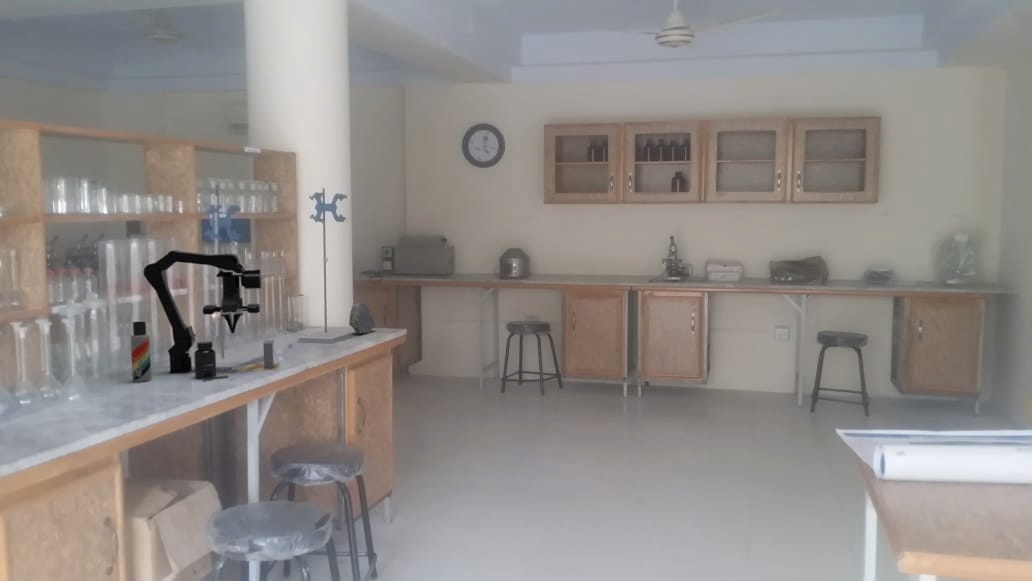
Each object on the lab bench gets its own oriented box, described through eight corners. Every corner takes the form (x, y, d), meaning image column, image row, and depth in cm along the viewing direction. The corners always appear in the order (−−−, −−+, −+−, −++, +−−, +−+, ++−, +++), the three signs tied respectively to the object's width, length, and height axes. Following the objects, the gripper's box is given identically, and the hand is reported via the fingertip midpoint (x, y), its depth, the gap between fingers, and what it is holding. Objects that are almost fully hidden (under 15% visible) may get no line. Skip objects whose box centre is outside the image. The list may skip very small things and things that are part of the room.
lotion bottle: (131, 382, 271) (128, 322, 269) (134, 379, 276) (131, 320, 274) (149, 381, 272) (146, 321, 270) (152, 378, 278) (149, 319, 276)
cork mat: (229, 372, 287) (229, 371, 287) (233, 366, 298) (233, 364, 298) (276, 370, 290) (276, 369, 290) (279, 364, 302) (279, 363, 302)
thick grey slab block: (264, 368, 292) (263, 343, 291) (266, 364, 298) (265, 340, 297) (273, 368, 292) (272, 343, 291) (275, 364, 299) (274, 340, 298)
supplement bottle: (209, 379, 275) (207, 344, 274) (190, 378, 277) (189, 343, 276) (220, 375, 282) (219, 340, 281) (202, 374, 283) (201, 340, 282)
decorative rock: (358, 336, 366) (357, 302, 364) (346, 335, 369) (345, 302, 367) (378, 331, 381) (377, 298, 379) (366, 330, 384) (365, 298, 382)
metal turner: (205, 383, 270) (205, 380, 270) (201, 379, 275) (200, 376, 275) (250, 377, 278) (250, 374, 278) (246, 374, 283) (245, 372, 283)
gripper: (199, 292, 280) (201, 337, 281) (256, 291, 284) (258, 335, 285) (204, 289, 291) (206, 332, 292) (259, 287, 295) (261, 330, 296)
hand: (232, 333), depth 291 cm, fingers closed
